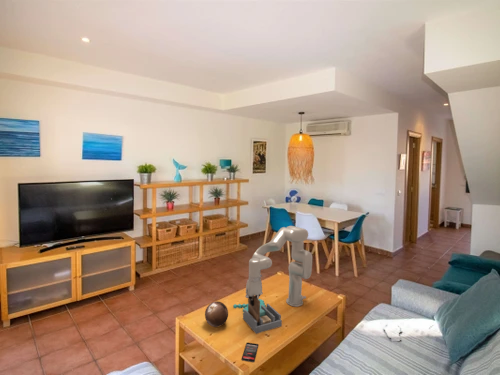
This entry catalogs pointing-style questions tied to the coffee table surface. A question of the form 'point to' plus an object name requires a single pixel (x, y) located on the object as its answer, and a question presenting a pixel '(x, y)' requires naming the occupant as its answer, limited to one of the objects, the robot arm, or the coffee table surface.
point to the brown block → (254, 309)
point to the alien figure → (247, 305)
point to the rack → (259, 326)
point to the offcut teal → (262, 312)
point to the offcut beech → (265, 319)
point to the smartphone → (250, 352)
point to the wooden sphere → (216, 314)
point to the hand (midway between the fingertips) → (253, 304)
